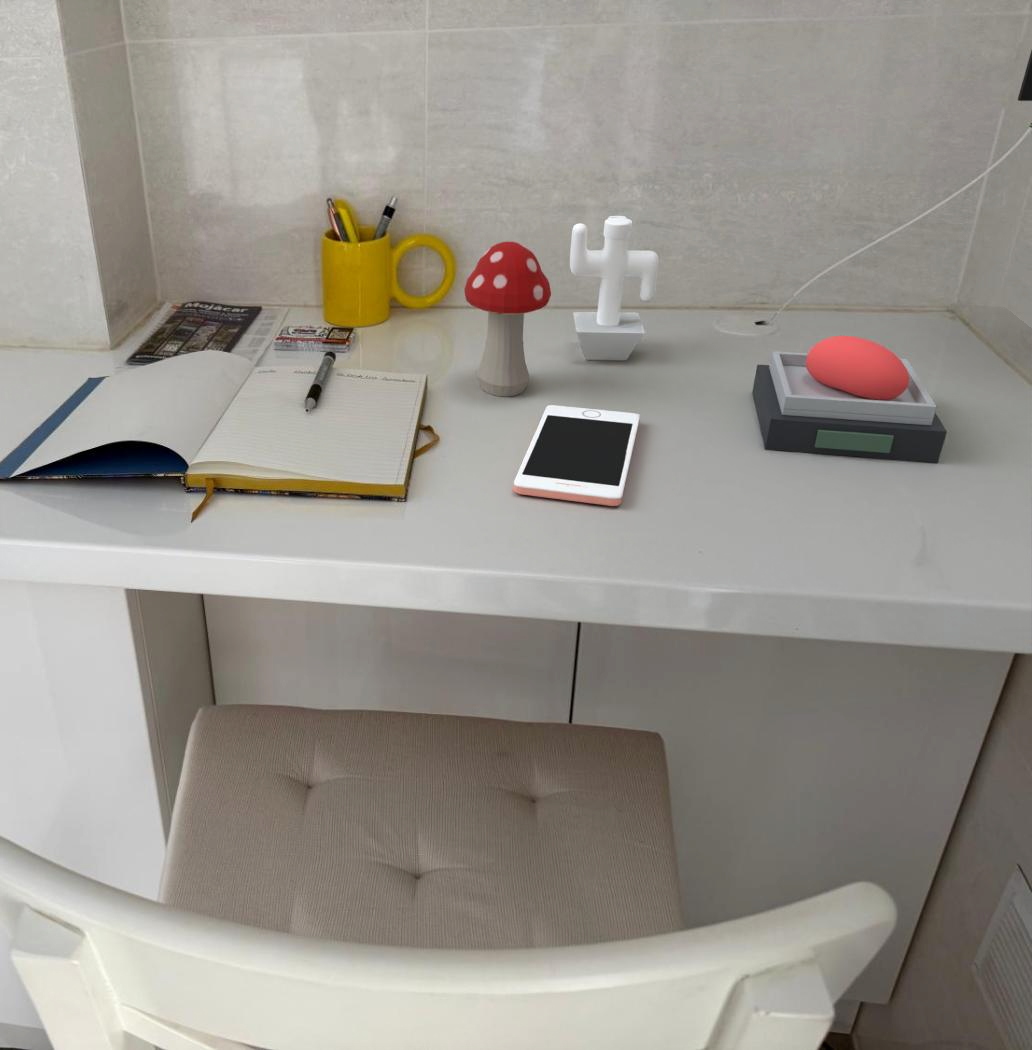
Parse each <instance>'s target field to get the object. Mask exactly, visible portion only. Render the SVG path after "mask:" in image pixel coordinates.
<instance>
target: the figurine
mask: <svg viewBox="0 0 1032 1050" xmlns="http://www.w3.org/2000/svg"><path fill="white" fill-rule="evenodd" d="M603 224H604V225H603V237H604V242H603V247H602V248H601V249H595V250H594V249H593V250H592V249H588V243H587V242H588V227H587V225H586V224H585V223H576V224H574V225H573V227H572V229H571V239H570V250H569V252H570V253H569V269H570V271H571V273H572V275H574V276H576V277H598V278H600V282H599V284H600V285H599V293H598V301H597V311H572V315H573V321H574V325H575V333H576V335H577V337H578V341H579V344H580V346H581V349H582V352H583V355H584V358H585V360H586V361H627V360H628V359H629V358H630V355H631V354H632V353H633V351H634V350H635V348H636V347H637V345H638V344H639V343H640V341H641V340H642V339H643V338H644V335H645V334H646V332H645V328H644V327H643V324H642V321H641V318H640V315H639V313H638V312H621V309H622V301H623V291H624V284H625V283H624V282H625V278H627V277H629V278H630V277H631V278H640V288H639V298H640V300H641V301H643V302H649V303H650V302H652V301H654V299H655V297H656V294H657V293H656V292H657V286H658V285H657V284H658V279H659V268H660V260H659V259H660V258H659V256H658V255H659V254H657V252H655V251H653V250H642V249H641V250H640V249H639V250H633V249H631V250H630V249H628V246H629V239H630V237H631V236H632V229H633V220H632V219H630V218H627V216H624V215H609V216H608V217H607V218H606V219H605V220H604V223H603Z"/></svg>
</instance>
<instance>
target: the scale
mask: <svg viewBox="0 0 1032 1050" xmlns="http://www.w3.org/2000/svg"><path fill="white" fill-rule="evenodd" d="M808 353H809V352H792V351H789V352H788V351H774V350H773V351H772V352H771V356H770V362H769V364H756V369H755V375H754V380H753V385H752V391H751V392H752V397H753V402H754V405H755V406H754V407H755V410H756V415H757V419H758V424H759V428H760V433H761V437H762V442H763V446H764V450H772V451H782V452H795V453H796V452H797V453H798V452H799V453H806V454H807V453H809V454H818V455H819V454H822V455H833V456H843V457H844V456H846V457H858V458H871V459H883V460H896V461H906V462H907V461H910V462H919V463H920V462H922V463H933V464H938V463H939V460H940V456H941V453H942V449H943V447H944V444H945V440H946V436H947V433H948V431H947V429H946V428H945V426H944V424H943V423H942V421H941V419H940V418H939V416H938V415H937V412H936V410H937V405H936V403H935V401H934V400H933V398H932V397H931V395H930V394H929V392H928V390H927V389H926V387H925V385H924V383H923V382H922V381H921V379H920V377H919V376H918V374H917V373H916V371H915V369H914V367H913V366H912V364H911V363H910V361H909V360H908V358H900V357H898V358H899V359H900V360H901V361H902V363H903V364H904V366H905V367H906V369H907V371H908V374H909V384H908V387H907V389H906V390H905V391H904V392H903V393H902V394H901V395H900V396H898V397H896V398H894V399H890V400H875V399H869V398H864V397H860V396H857V395H853V394H851V393H848V392H845V391H843V390H840V389H836V388H833V387H830V386H827V385H825V384H822V383H820V382H819V381H817V380H815V379H814V378H813V377H812V376H811V375H810V374H809V372H808V371H807V368H806V358H807V355H808Z"/></svg>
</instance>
